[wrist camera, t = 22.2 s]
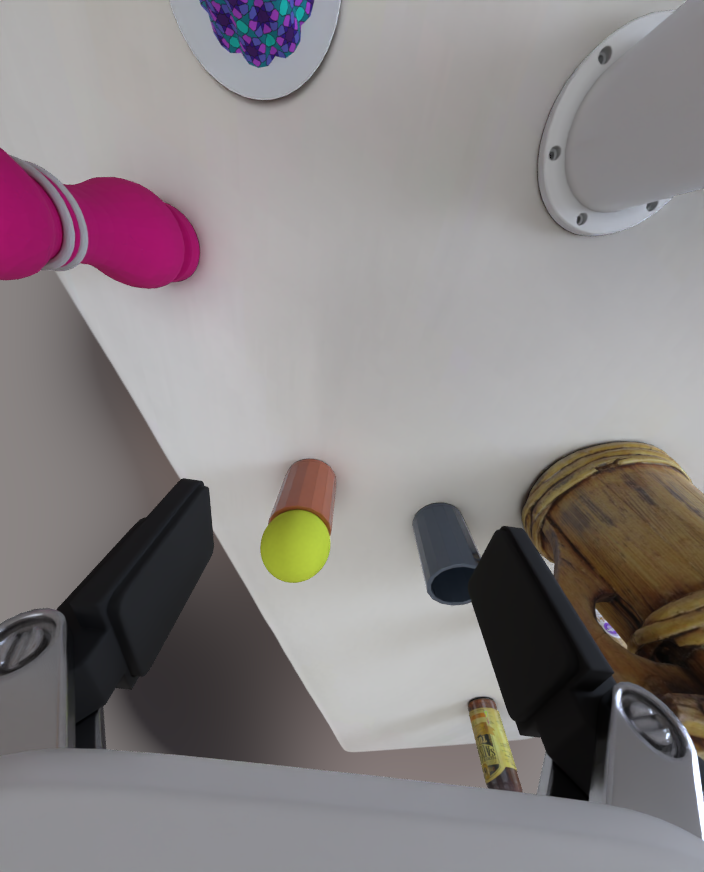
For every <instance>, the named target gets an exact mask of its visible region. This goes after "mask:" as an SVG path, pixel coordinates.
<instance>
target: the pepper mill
mask: <svg viewBox="0 0 704 872" xmlns="http://www.w3.org/2000/svg"><path fill="white" fill-rule="evenodd" d="M199 255H200V250H199V242H198V239H197V236H196V233H195V231H194V229H193V227H192V225H191V224H190V222H189V221H188V219H187V218H186V217H185V216H184V215H183V214H182V213H181V212H180V211H178V210H177V209H176V208H174V207H173V206H171V205H169V204H167V203H164V202H163V201H162V200H161V199H160V198H158V197H157V196H156V195H155V194H154V193H153V192H151V191H150V190H148V189H147V188H145V187H143V186H141V185H140V184H137V183H134V182H131V181H128V180H125V179H121V178H116V177H96V178H92V179H89V180H86V181H84V182H82V183H79V184H75V185H65V184H62V183H61V182H60V181H59V180H58V179H57V178H56V177H55V176H53V175H52V174H51V173H49V172H48V171H47V170H45V169H43V168H42V167H40V166H38V165H36V164H33V163H31V162H27V161H23V160H21V159H19V158H17V157H14V156H11V155H8V154H7V153H6V152H5V151H4V150H3V149H1V148H0V280H15V279H21V278H24V277H28V276H31V275H33V274H35V273H38V272H39V271H40V270H54V271H65V270H69V269H72V268H74V267H76V266H77V265H78V264H79V263H82V264H89V265H92V266H94V267H95V268H97V269H98V270H100V271H101V272H103V273H104V274H105V275H107V276H109V277H111V278H112V279H114V280H116V281H119V282H121V283H124V284H126V285H129V286H133V287H138V288H148V289H151V288H159V287H162V286H165V285H167V284H169V283H170V282H179V281H183V280H185V279H187V278H188V277H190V276H191V275H192V274H193V273H194V271H195V270H196V268H197V265H198V262H199Z"/></svg>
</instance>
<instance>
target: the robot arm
mask: <svg viewBox="0 0 704 872" xmlns="http://www.w3.org/2000/svg"><path fill="white" fill-rule="evenodd" d="M549 154H551V159H550V158H549ZM538 182H539V187H540V192H541V196H542V199H543V202H544V204H545V206H546V208H547V211H548V212H549V214H550V215H551V216H552V217H553V219H554V220H555V221H556V222H557V223H558V224H559V225H560V226H562V227H563V228H564V229H566V230H568V231H570V232H573V233H575V234H578V235H584V236H600V235H607V234H612V233H616V232H620V231H623V230H625V229H628V228H631V227H633V226H635V225H637V224H639V223H640V222H642V221H644V220H645V219H647V218H649V217H650V216H652V215H653V214H654V213H656V212H657V211H658V210H659V209H661V208H662V207H663V206H664V205H666V204H667V203H668V202H669V201H670V200H671V199H672V198H673V197H674V196H677V195H681V194H684V193H688V192H692V191H695V190H699V189H703V188H704V0H687V1H686V2H685V3H683V4H682V5H681V6H680V7H679V8H678V9H676V10H666V11H658V12H652V13H649V14H647V15H644V16H641V17H639V18H636V19H634V20H632V21H630V22H629V23H627V24H625V25H624V26H622V27H621V28H619V29H617V30H616V31H614V32H613V33H612V34H611V35H610V36H608V37H607V38H606V39H605V40H604V41H603V42H602V43H600V44H599V45H598V46H597V47H596V48H595V49H594V50H593V51H592V52H591V53H590V54H589V55H588V56H587V57H586V58H585V59H584V60H583V61H582V62H581V63H580V65H579V66H578V67H577V69H576V70H575V71H574V73H573V74H572V75H571V77H570V78H569V79H568V81H567V82H566V83H565V85H564V87H563V89H562V90H561V92H560V94H559V96H558V98H557V99H556V101H555V103H554V105H553V108H552V110H551V112H550V115H549V117H548V120H547V122H546V125H545V129H544V132H543V136H542V140H541V144H540V151H539V159H538ZM576 219H577V223H576ZM213 548H214V542H213V529H212V518H211V506H210V495H209V488H208V487H206V486H204V483H203V481H198V480H191V479H184V478H183V479H181V480H180V481H179V482H178V483H177V484H176V485H175V486H174V487H173V488H172V490H171V491H170V492H169V493H168V494H167V495H166V496H165V498H163V500H162V501H161V502H160V503H159V504H158V505H157V506H156V507H155V509H153V511H152V512H151V513H150V514H149V515H148V516H147V517H146V518H143V519H140V520H139V521H138V522H137V523H136V524H135V525H134V526H133V527H132V528H131V529H130V530H129V532H127V534H126V535H125V536H124V537H123V538H122V539H121V540H120V541H119V542H118V543H117V544H116V546H115V547H114V548H113V549H112V550H111V551H110V552H109V553H108V554H107V555H106V556H105V557H104V559H103V560H102V561H101V562H100V563H99V564H98V565H97V566H96V567H95V568H94V569H93V570H92V572H91V573H90V574H89V575H88V576H87V577H86V578H85V579H84V580H83V581H82V582H81V584H80V585H79V586H78V587H77V588H76V589H75V590H74V591H73V592H72V593H71V594H70V595H69V597H68V598H67V599H66V600H65V601H64V602H63V603H62V604H61V605H60V606H59V607H58V608H57V610H54V609H50V608H43V609H34V610H31V611H27V612H24V613H20V614H18V615H16V616H14V617H12V618H10V619H7V620H5V621H4V622H2V623H1V624H0V872H704V760H703V759H701V758H700V757H699V756H698V755H697V753H696V749H695V746H694V743H693V741H692V739H691V737H690V735H689V733H688V732H687V730H686V728H685V727H684V725H683V724H682V723H681V721H680V720H679V719H678V718H677V716H676V715H675V714H674V713H673V712H672V711H671V710H670V709H669V708H668V707H667V706H666V705H665V704H664V703H663V702H662V701H661V700H660V699H658V698H657V697H656V696H655V695H653V694H652V693H651V692H649V691H648V690H646V689H644V688H642V687H641V686H639V685H636V684H633V683H631V682H619V683H616V681H615V680H614V678H613V676H612V675H613V674H614V673H615V672H614V671H613V669H612V668H611V666H610V665H609V663H608V661H607V660H606V658H605V657H604V655H603V653H602V652H601V650H600V649H599V647H598V646H597V644H596V642H595V641H594V639H593V638H592V636H591V634H590V633H589V631H588V630H587V628H586V626H585V625H584V623H583V622H582V620H581V619H580V617H579V615H578V614H577V612H576V611H575V609H574V607H573V606H572V604H571V603H570V601H569V600H568V598H567V596H566V595H565V593H564V592H563V590H562V588H561V587H560V585H559V584H558V582H557V580H556V579H555V577H554V576H553V574H552V573H551V571H550V569H549V568H548V566H547V565H546V563H545V561H544V560H543V558H542V557H541V555H540V553H539V552H538V550H537V549H536V547H535V546H534V544H533V542H532V541H531V539H530V538H529V536H528V534H527V533H526V532H525V530H523V529H522V528H515V527H508V526H503V527H501V529H500V530H496V531H495V533H494V535H493V537H492V538H491V540H490V542H489V544H488V546H487V548H486V550H485V551H484V553H483V555H482V557H481V559H480V561H479V563H478V565H477V566H476V568H475V570H474V572H473V574H472V576H471V578H470V579H469V582H468V592H469V596H470V599H471V602H472V605H473V608H474V611H475V614H476V617H477V620H478V623H479V626H480V629H481V632H482V635H483V638H484V641H485V644H486V647H487V651H488V654H489V657H490V660H491V663H492V666H493V669H494V672H495V675H496V678H497V681H498V684H499V687H500V690H501V693H502V696H503V699H504V702H505V705H506V708H507V711H508V714H509V715H510V717H511V718H512V719H513V720H514V721H515V722H516V724H517V727H518V730H519V733H520V735H523V736H531V737H541V739H542V742H543V744H544V746H545V750H546V752H545V758H544V762H543V767H542V771H541V776H540V781H539V786H538V790H537V794H531V793H523V792H514V791H505V790H497V789H488V788H479V787H470V786H461V785H453V784H444V783H435V782H426V781H417V780H408V779H399V778H390V777H381V776H371V775H362V774H353V773H343V772H334V771H325V770H316V769H307V768H298V767H288V766H278V765H268V764H259V763H249V762H239V761H230V760H220V759H211V758H200V757H191V756H182V755H169V754H157V753H145V752H133V751H120V750H108V749H106V740H105V724H104V710H103V706H104V705H105V704H106V703H107V701H108V699H109V698H110V696H111V694H112V693H113V691H114V690H115V688H121V689H130V690H132V688H133V686H134V685H135V683H136V681H137V679H138V678H139V676H145V675H146V674H147V672H148V671H149V670H150V668H151V666H152V664H153V663H154V661H155V659H156V657H157V655H158V653H159V652H160V650H161V648H162V646H163V644H164V642H165V641H166V639H167V637H168V635H169V633H170V631H171V629H172V628H173V626H174V624H175V622H176V620H177V619H178V617H179V615H180V613H181V611H182V609H183V608H184V606H185V604H186V602H187V600H188V598H189V596H190V595H191V593H192V591H193V589H194V587H195V585H196V584H197V582H198V580H199V578H200V576H201V574H202V573H203V571H204V569H205V567H206V565H207V563H208V562H209V560H210V558H211V556H212V553H213Z"/></svg>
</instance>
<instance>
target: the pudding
mask: <svg viewBox="0 0 704 872" xmlns="http://www.w3.org/2000/svg"><path fill="white" fill-rule="evenodd" d="M169 2H170V6H171V9H172V12H173V15H174V17H175V19H176V22H177V24H178V26H179V29H180V31H181V33H182V35H183V37H184V39H185V40H186V42H187V44H188V46H189V47H190V49H191V51H192V53H193V54H194V55H195V57H196V58H197V59H198V61H199V62H200V63H201V65H202V66H203V67H204V69H205V70H206V71H208V72H209V73H210V74H211V75H212V76H213V77H214V78H215V79H216V80H217V81H218V82H219V83H221V84H222V85H223V86H225V87H226V88H228V89H229V90H230V91H232V92H235V93H237V94H239V95H241V96H243V97H247V98H252V99H256V100H273V99H276V98H279V97H283V96H286V95H288V94H290V93H291V92H293V91H295V90H297V89H298V88H299V87H300V86H302V85H303V84H304V83H305V82H306V81H307V80H308V79H309V78H310V77H311V76H312V74H313V73H314V72H315V70H316V69H317V68H318V66H319V65H320V64H321V62H322V60H323V58H324V56H325V54H326V52H327V50H328V48H329V46H330V43H331V40H332V37H333V34H334V31H335V28H336V24H337V19H338V14H339V10H340V4H341V0H169Z"/></svg>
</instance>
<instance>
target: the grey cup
mask: <svg viewBox="0 0 704 872" xmlns="http://www.w3.org/2000/svg"><path fill="white" fill-rule="evenodd" d="M413 530H414V535H415V540H416V544H417V549H418V553H419V558H420V562H421V566H422V571H423V575H424V580H425V584H426V589H427V593H428V594H429V595H430V596H431V598H432V599H433V600H435V601H437V602H439V603H442V604H447V605H464V604H467V603H470V602H471V599H470V596H469V592H468V582H469V579H470V578H471V576H472V574H473V572H474V570H475V568H476V566H477V565H478V563H479V561H480V559H481V556H480V554H479V551H478V549H477V547H476V545H475V542H474V540H473V538H472V536H471V534H470V531H469V529H468V527H467V525H466V522H465V520H464V518H463V516H462V514H461V512H460V511H459V510H458V509H457V508H456V507H454V506H452V505H450V504H446V503H435V504H430V505H428V506H425V507H423V508H422V509H421V510H419V511H418V512H417V514H416V515H415V517H414V519H413Z"/></svg>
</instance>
